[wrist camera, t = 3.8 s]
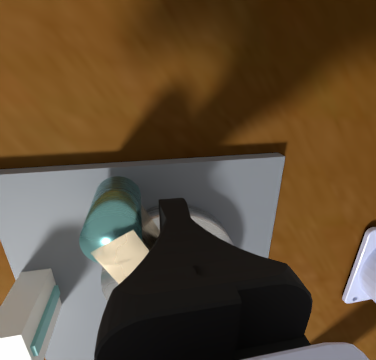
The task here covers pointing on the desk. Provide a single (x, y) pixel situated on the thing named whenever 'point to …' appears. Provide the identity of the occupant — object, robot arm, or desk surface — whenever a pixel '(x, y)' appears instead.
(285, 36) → the desk surface
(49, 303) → the white rectangular box
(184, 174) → the stand board
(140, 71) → the desk surface
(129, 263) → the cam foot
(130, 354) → the robot arm
